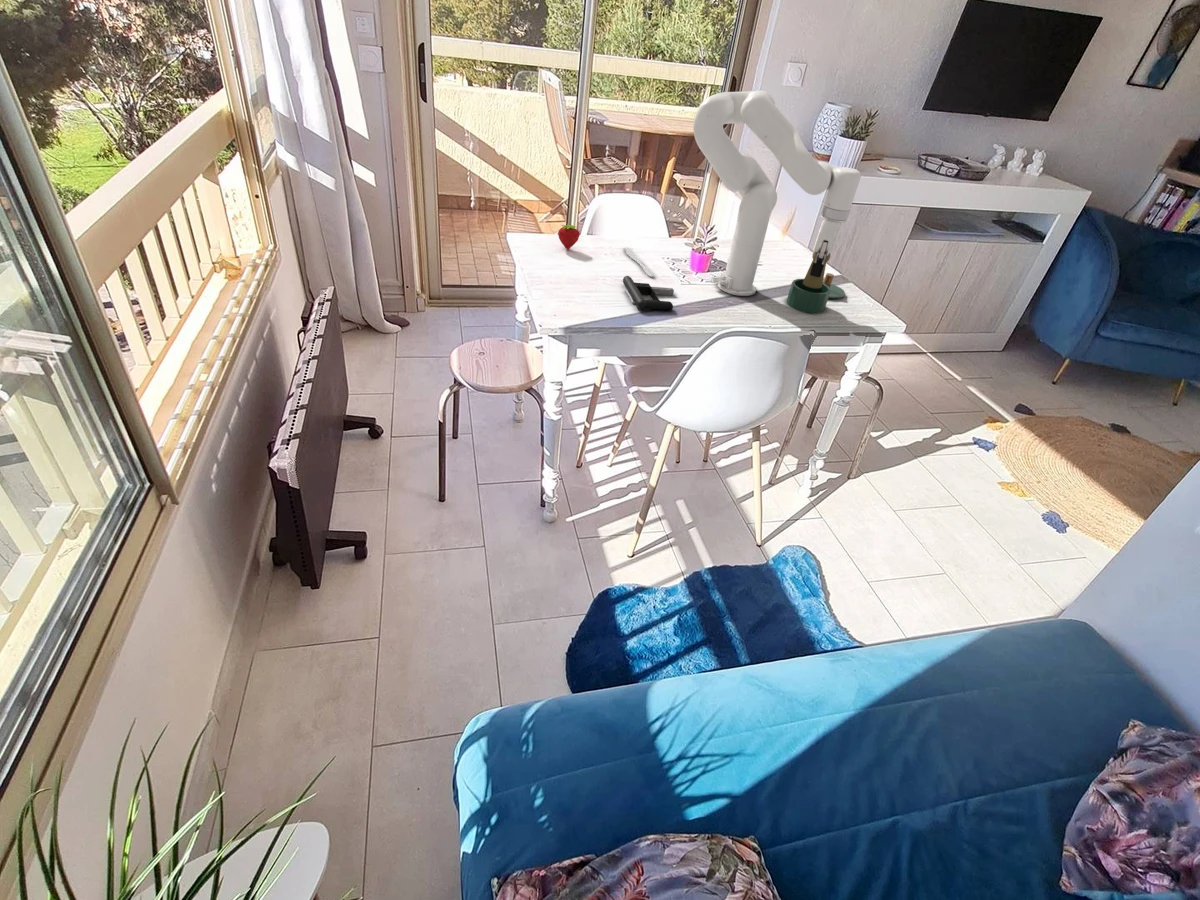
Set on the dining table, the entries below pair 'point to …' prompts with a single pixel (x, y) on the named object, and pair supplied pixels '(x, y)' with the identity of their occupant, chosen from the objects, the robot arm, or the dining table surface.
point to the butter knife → (639, 262)
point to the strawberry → (568, 235)
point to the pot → (808, 297)
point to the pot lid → (833, 287)
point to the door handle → (645, 289)
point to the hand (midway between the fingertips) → (815, 272)
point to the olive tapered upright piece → (812, 280)
